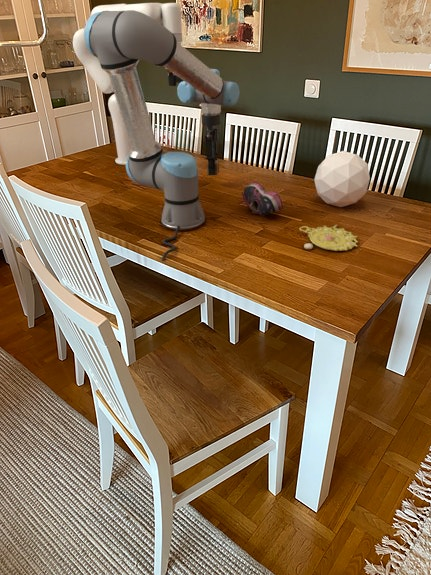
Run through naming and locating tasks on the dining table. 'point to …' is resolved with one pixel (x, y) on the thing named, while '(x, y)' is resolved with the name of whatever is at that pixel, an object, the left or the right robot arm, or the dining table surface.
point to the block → (215, 167)
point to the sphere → (342, 179)
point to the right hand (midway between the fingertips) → (213, 172)
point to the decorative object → (330, 238)
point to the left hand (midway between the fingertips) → (176, 84)
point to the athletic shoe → (261, 200)
